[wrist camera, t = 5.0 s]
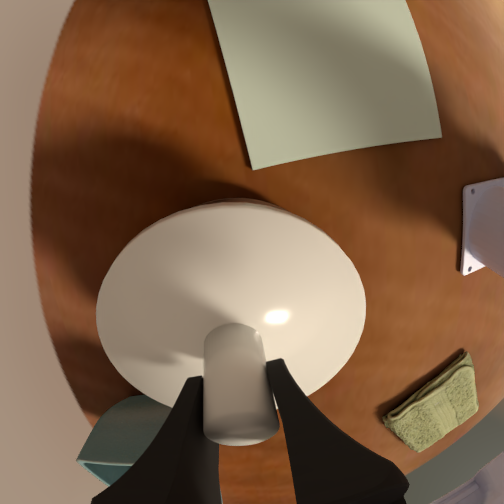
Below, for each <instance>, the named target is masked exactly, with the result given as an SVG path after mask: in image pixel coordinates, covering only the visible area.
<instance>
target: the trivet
mask: <svg viewBox="0 0 504 504" xmlns="http://www.w3.org/2000/svg"><path fill="white" fill-rule="evenodd" d="M208 3H209V7H210V11H211V14H212V18H213V21H214V25H215V28H216V32H217V36H218V39H219V43H220V46H221V50H222V54H223V58H224V61H225V65H226V69H227V72H228V76H229V80H230V84H231V88H232V91H233V95H234V99H235V103H236V107H237V111H238V114H239V118H240V122H241V126H242V130H243V134H244V138H245V142H246V146H247V150H248V154H249V158H250V162H251V166H252V170H256V169H260V168H264V167H269V166H273V165H277V164H282V163H286V162H291V161H296V160H300V159H305V158H310V157H315V156H320V155H325V154H331V153H336V152H342V151H347V150H353V149H359V148H365V147H372V146H378V145H385V144H392V143H400V142H407V141H416V140H424V139H434V138H442V133H441V127H440V121H439V115H438V109H437V104H436V99H435V94H434V90H433V85H432V81H431V77H430V73H429V69H428V66H427V62H426V58H425V55H424V52H423V48H422V45H421V42H420V39H419V36H418V33H417V30H416V27H415V24H414V21H413V19H412V16H411V14H410V11H409V8H408V6H407V3H406V1H405V0H208Z"/></svg>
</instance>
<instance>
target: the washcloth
mask: <svg viewBox="0 0 504 504" xmlns="http://www.w3.org/2000/svg"><path fill="white" fill-rule="evenodd" d="M474 375H475V373H474V365H473V364H472V359H471V357H470V354H469V353H468V352H467V351H466V352H465V353H464V354H463V355H461V354H460V355H459V357H458V358H457V359H456V360H454V361H453V362H452V363H451V364H450V365H449V366H448V367H447V368H446V369H445V370H444V371H442V372H441V373H440V374H439V375H438V376H437V377H436V378H434V379H433V380H431V381H429V382H428V383H427V384H426V385H425V386H423V387H422V388H421V389H420V390H418V391H417V392H416V393H415V394H413V395H412V396H411V397H410V398H409V399H408V400H406V401H405V402H404V403H403V404H402V405H400V406H399V407H398V408H396V409H395V410H393V411H391V412H389V413H388V414H387V415H385V416H383V417H382V418H383V421H384V423H385V426H386V428H390V429H391V431H393V432H394V433H396V435H397V436H399V437H400V439H402V440H403V441H404V442H405V444H406V445H408V447H409V448H410V449H411V450H414V451H416V452H421V451H423V450H424V449H426V448H428V447H429V446H431V445H433V444H434V442H437V441H438V440H439V439H441V438H443V437H444V435H445V434H446V433H448V432H450V431H451V430H453V429H454V428H455V427H457V426H458V425H461V424H462V423H463V422H465V421H466V420H467V419H468V418H470V417H471V416H472V415H473V414H475V413H476V412H477V411H478V407H479V402H478V400H477V393H476V392H477V391H476V384H475V378H474V377H475V376H474Z"/></svg>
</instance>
